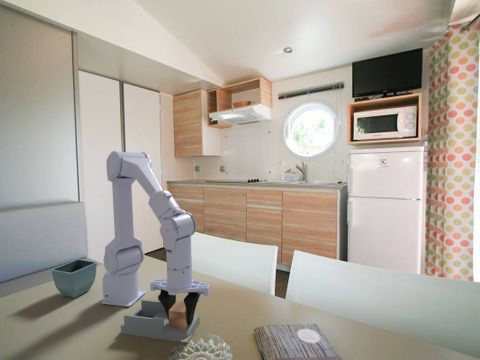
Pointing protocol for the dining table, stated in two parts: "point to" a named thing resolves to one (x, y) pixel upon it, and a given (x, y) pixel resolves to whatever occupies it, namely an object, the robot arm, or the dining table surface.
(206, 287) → the robot arm
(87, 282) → the flower pot
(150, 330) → the slate trough
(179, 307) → the terracotta block
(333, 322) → the dining table surface
